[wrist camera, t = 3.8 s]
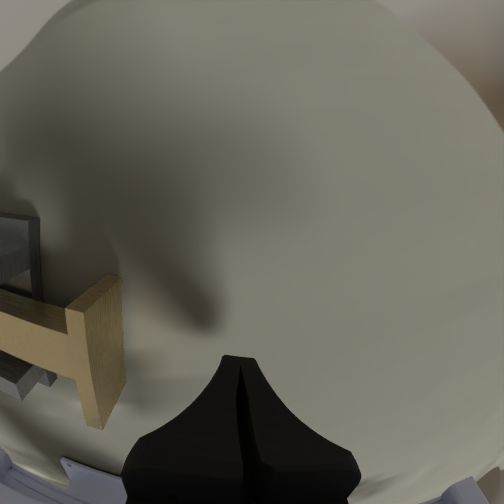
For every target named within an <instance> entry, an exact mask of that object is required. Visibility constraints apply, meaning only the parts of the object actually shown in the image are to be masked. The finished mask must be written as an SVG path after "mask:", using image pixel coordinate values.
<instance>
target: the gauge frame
mask: <svg viewBox="0 0 504 504" xmlns="http://www.w3.org/2000/svg"><path fill="white" fill-rule="evenodd" d="M0 289H3V290H6V291H9V292H12V293H15V294H18V295H21V296H24V297H27V298H31V299H34V300H37V301H40V302H43V292H42V281H41V265H40V218H35V217H27V216H20V215H13V214H6V213H0ZM56 379H57V376H56V373H54V372H52V371H49V370H46V369H44V368H41V367H39V366H36V365H34V364H31V363H29V362H27V361H24V360H22V359H20V358H17V357H15V356H13V355H11V354H9V353H6V352H4V351H2V350H0V390H1V391H3V392H5V393H7V394H9V395H10V396H12V397H14V398H16V399H18V400H20V401H22V400H23V399H24V398H25V397H26V395H27V394H28V393H29V392H30V391H31V389H32V388H33V387H34V386H35V385H36V383H37V382H39V383H42V384H44V385H47V386H49V387H51V385H52V384H53V383H54V382H55V380H56Z"/></svg>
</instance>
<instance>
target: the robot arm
mask: <svg viewBox="0 0 504 504" xmlns="http://www.w3.org/2000/svg"><path fill="white" fill-rule="evenodd" d="M60 462H61V464H62V466H63V468H64V470H65V471H66V473H67V475H68V477H69V479H70V483H69V485H68V487H67V489H66V490H65V489H63V488H60V487H58V486H56V485H54V484H52V483H50V482H47V481H45V480H43V479H41V478H39V477H37V476H35V475H34V474H32V473H30V472H28V471H26V470H24V469H22V468H21V467H19V466H17V465H15V464H14V463H12V460H11V458H10V457H9V455H8V454H7V453H6V452H5V451H4V450H3V449H2V448H1V447H0V504H348V500H347V497H348V496H349V495H350V494H351V493H352V491H353V490H354V489H355V488H356V486H357V485H358V484H359V482H360V480H361V472H360V470H359V467H358V465H357V462H356V460H355V458H354V457H353V455H352V453H351V451H348V450H346V449H344V448H342V447H340V446H338V445H336V444H334V443H332V442H330V441H329V440H327V439H325V438H324V437H322V436H321V435H319V434H317V433H316V432H315V431H313V430H312V429H310V428H309V427H308V426H307V425H305V424H304V423H303V422H302V421H300V420H299V419H298V418H297V417H296V416H295V415H294V414H293V413H292V412H291V411H290V410H289V409H288V408H287V407H286V406H285V405H284V403H283V402H282V401H281V400H280V398H279V397H278V396H277V395H276V393H275V392H274V390H273V389H272V388H271V386H270V385H269V383H268V382H267V380H266V378H265V377H264V375H263V373H262V371H261V370H260V368H259V366H258V364H257V362H256V360H255V359H254V358H247V357H238V356H230V355H224V356H222V360H221V363H220V365H219V367H218V369H217V371H216V373H215V374H214V376H213V378H212V379H211V381H210V382H209V384H208V385H207V386H206V388H205V389H204V390H203V391H202V393H201V394H200V395H199V396H198V397H197V398H196V399H195V401H194V402H193V403H192V404H191V405H189V406H188V407H187V408H186V409H185V410H184V411H183V412H182V413H180V414H179V415H178V416H177V417H175V418H174V419H172V420H171V421H169V422H168V423H166V424H165V425H163V426H162V427H160V428H158V429H157V430H155V431H153V432H151V433H149V434H146V435H144V436H142V437H140V438H139V439H138V441H137V442H136V443H135V445H134V446H133V448H132V449H131V451H130V453H129V454H128V456H127V458H126V460H125V463H124V466H123V469H122V472H121V477H118V476H114V475H111V474H108V473H105V472H102V471H99V470H96V469H93V468H90V467H87V466H84V465H82V464H79V463H77V462H74V461H71V460H69V459H66V458H64V457H62V458H61V459H60ZM421 504H489V502H488V501H487V499H486V498H485V496H484V494H483V493H482V491H481V490H480V488H479V487H478V485H477V483H476V482H475V480H474V479H473V477H469V478H466V479H464V480H462V481H459V482H457V483H455V484H453V485H452V486H450V487H449V488H448V489H447V490H446V491H445V492H444V493H443V494H442V495H441V496H440V497H437V498H434V499H432V500H429V501H426V502H423V503H421Z"/></svg>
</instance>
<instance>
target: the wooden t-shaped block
mask: <svg viewBox="0 0 504 504" xmlns="http://www.w3.org/2000/svg"><path fill="white" fill-rule="evenodd" d="M0 350H2V351H4V352H6V353H9V354H11V355H13V356H15V357H17V358H20V359H22V360H24V361H27V362H29V363H31V364H34V365H36V366H39V367H41V368H44V369H46V370H49V371H52V372H54V373H57V374H60V375H63V376H66V377H68V378H71V379H74V380H76V383H77V388H78V392H79V397H80V401H81V405H82V409H83V412H84V416H85V420H86V423H87V425H88V426H91V427H94V428H97V429H100V430H103V429H104V427H105V425H106V422H107V420H108V418H109V416H110V414H111V412H112V410H113V408H114V406H115V404H116V402H117V400H118V398H119V396H120V394H121V392H122V390H123V388H124V386H125V384H126V373H125V360H124V344H123V317H122V277H117V276H112V275H105V276H104V277H103V278H102V279H100V280H99V281H98V282H96V283H95V284H94V285H93V286H91V287H90V288H89V289H88V290H86V291H85V292H84V293H83V294H81V295H80V296H79V297H78V298H76V299H75V300H74V301H73V302H72V303H70V304H69V305H68V306H67V307H65V308H61V307H58V306H54V305H51V304H47V303H44V302H40V301H37V300H34V299H31V298H27V297H24V296H21V295H18V294H15V293H12V292H9V291H6V290H3V289H0Z"/></svg>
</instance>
